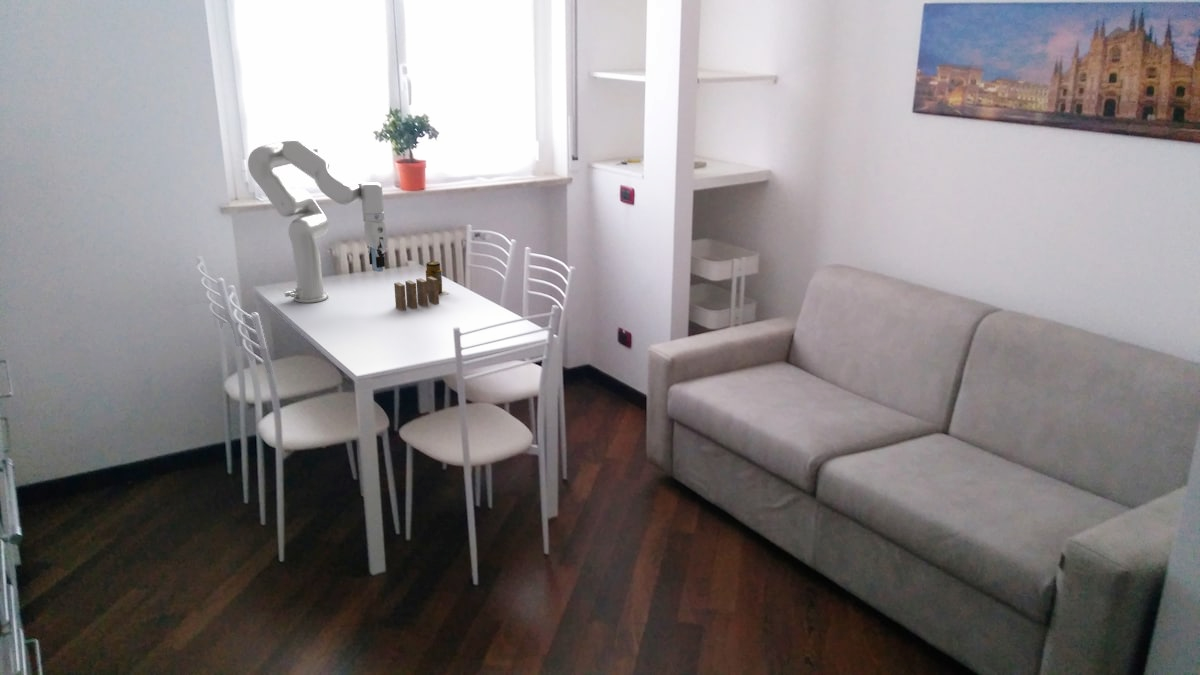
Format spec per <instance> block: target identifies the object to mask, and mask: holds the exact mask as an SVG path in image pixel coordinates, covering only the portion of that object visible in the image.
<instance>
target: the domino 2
mask: <svg viewBox="0 0 1200 675" xmlns="http://www.w3.org/2000/svg"><path fill="white" fill-rule="evenodd" d="M393 284H394V287H393V288H394V297H395V298H394V300H395V309H398V310H399V311H401V312H403V311H406V310H407V299H406V284H404V283H401V282H399V281H397V282H394V283H393Z"/></svg>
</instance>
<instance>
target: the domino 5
mask: <svg viewBox="0 0 1200 675" xmlns="http://www.w3.org/2000/svg"><path fill="white" fill-rule="evenodd" d="M427 283H428V303H431V304H433V305H438V304H440V299H439V296H440V295H439V294H438V279H436V278H434V277H432V276H431V277H427Z"/></svg>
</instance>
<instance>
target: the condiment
mask: <svg viewBox="0 0 1200 675" xmlns="http://www.w3.org/2000/svg"><path fill="white" fill-rule="evenodd" d="M431 276H432V277H434V278H436V279H438V294H439V296H444V295H447V294H449V293H450V292H447V291H445V290H443V278H442V277H443V276H442V269H441V263H440V262H438V261H428V262H426V269H425V281H427V277H431ZM427 292H428V283H427Z"/></svg>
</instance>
